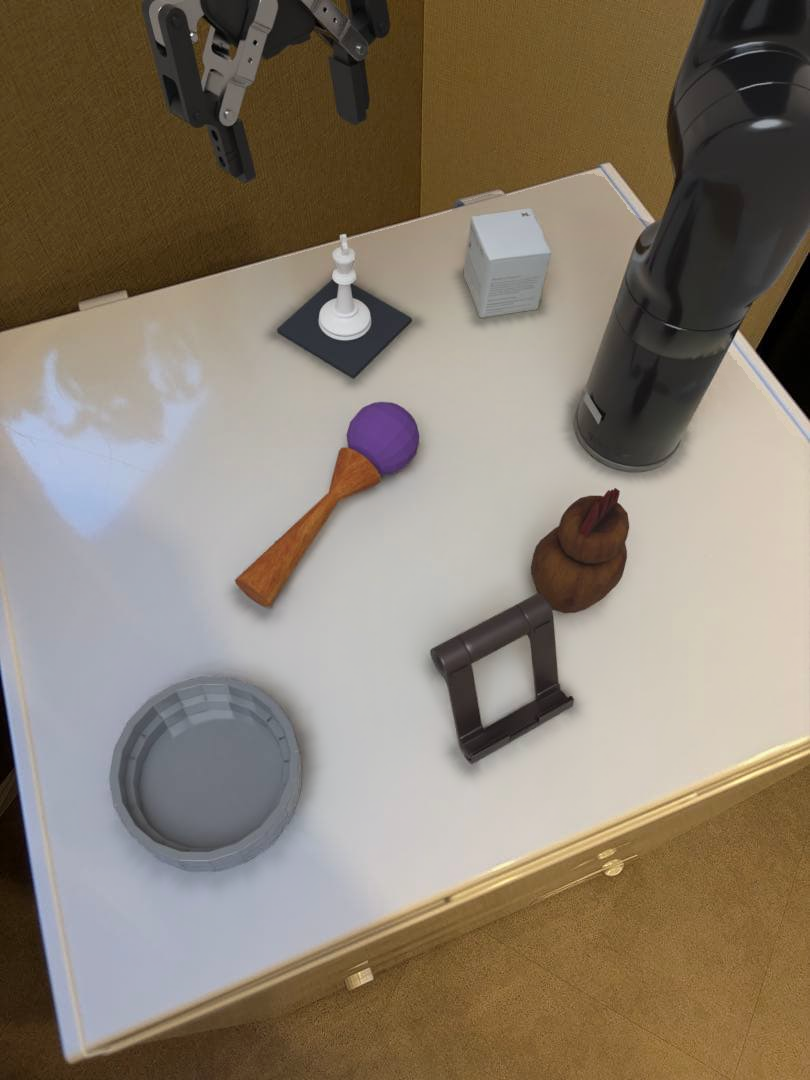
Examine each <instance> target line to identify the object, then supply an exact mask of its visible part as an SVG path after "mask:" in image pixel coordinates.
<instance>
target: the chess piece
mask: <svg viewBox="0 0 810 1080" xmlns="http://www.w3.org/2000/svg"><path fill="white" fill-rule="evenodd" d="M339 242H340V246H338V247H337V248H335V249H334V250H333V251H332V254H331V257H332V260H333V262H334V264H335V266H336V268H334V270H333V272H332V274H331V278H332V279H333V280H334V281H335V282H336V283H337V284H339V285H338V294H337V298H335V299H332V300H330V301H328V302H327V303H326V304H325V305H324V306H323V307H322V308H321V310H320V313H319V326H320V328H321V330H322V331H323V332H324V333H325V334H326V335H328V336H329V337H331V338H334V339H337V340H353V339H357V338H359V337H361V336H363V335H364V334H365V333H366V332H367V331H368V330H369V328H370V326H371V315H370V311H369V309H368V308H367V306H366V305H365V304H364V303H362V302H361V301H359V300H357V299H354V298H352V293H351V286H350V284H351V283H352V284H354V282H355V281H356V279H357V273H356V271H355V270H354V269H353V268H352V267H353V264H354V263H355V260H356V255H357V254H356V252H355V250H354V249H353V248H352V247H350V246H348V237H347V234H346V233H343V234H339Z"/></svg>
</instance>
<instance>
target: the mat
mask: <svg viewBox="0 0 810 1080" xmlns="http://www.w3.org/2000/svg"><path fill="white" fill-rule="evenodd" d="M338 285H339V284H337V283H336V282H335V281H334V280H333V278H332V279H331V280H330V281H329V282H327V284H325V285H324V286H323V287H322V288H321V289H320V290H319V291H317V292H316V293H315V294H314V295H313V296H312V297H311V298H309V299H308V300H307V302H306V303H304V304H303V305H302V306H301V307H300V308H298V310H296V311H295V312H293V314H292V315H291V316H290V317H289V318H288V319H286V320H285V321H284V322H283V323H282V324H280V325H279V326H278V327H277V328H276V332H277V334H279V335H281V336H282V337H284V338H286V339H287V340H289V341H291V342H292V343H294V344H296V345H297V346H299V347H300V348H303V349H304V350H305V351H307V352H308V353H310V354H312V355H313V356H315V357H317V358H319V360H322V361H323V362H325V363H327V364H329V366H331V367H333V368H335V369H337V370H338V371H339V372H342V373H343V374H344V375H346V376H348V377H350V378H351V379H355V378H356V377H357V376H358V375H359V374H360V373H362V371H363V370H364V369H365V368H366V367H367V366H368V365H369V364H371V362H372V361H373V360H374V359H375V358H376V357H377V356H379V355H380V353H381V352H383V350H384V349H385V348H387V346H388V345H389V344H390V343H391V342H392V341H393V340H395V338H396V337H398V336H399V335H400V333H402V332H403V331H404V330H405V329H406V327H408V326H409V325H410V324H411V323H412V320H413V319H412V317H410V316H409V315H407V314H406V313H404V312H402V311H400V310H399V309H397V308H395V307H393V306H391V304H388V303H387V302H385V301H383V300H381V299H379V298H378V297H376V296H374V295H373V294H371V293H369V292H367V291H366V290H364V289H362V288H361V287H359V286H357V285H355V284H354V283H351V284H350V286H351V293H352V298H354V299H357V300H359V301H361V302H362V303H364V304H365V305H366V306H367V308H368V309H369V311H370V315H371V326H370V328H369V330H368V331H367V332H366V333H365V334H364V335H363V336H361V337H359V338H357V339H353V340H337V339H334V338H331V337H329V336H328V335H326V334H325V333H324V332H323V331H322V330H321V328H320V326H319V313H320V310H321V308H322V307H323V306H324V305H325V304H326V303H327V302H328V301H330V300H332V299H335V298H337V294H338Z"/></svg>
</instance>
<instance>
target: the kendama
mask: <svg viewBox="0 0 810 1080" xmlns="http://www.w3.org/2000/svg"><path fill="white" fill-rule="evenodd" d="M346 443H347V446H346V447H340V449H339V450H338V453H337V456H336V461H335V465H334V469H333V473H332V475H331V479H330V484H329V488H328V492H327V493H326V494H325V495H323V497H322V498H321V499H320V500H319V501H318V502H317V503H315V504H314V506H312V507H311V508H310V509H309V510H308V511H307V512H306V513H305V514H303V516H301V518H299V519H298V520H297V521H296V522H295V523H294V524H293V525H292V526H290V528H289V529H288V530H287V531H285V533H283V534H282V535H281V536H280V537H279V538H278V539H277V540H276V541H275V542H274V543H273V544H271V546H270V547H268V548H267V549H266V550H265V551H264V552H263V553H262V554H261V555H260V556H259V557H258V558H256V559H255V560H254V561H253V562H252V563H251V564H250V565H249V566H248V567H247V568H246V569H244V571H243V572H242V573H240V575H238V576H237V577H236V578H235V579H234V582H235V584H236V585H237V587H238V588H239V589H240V590H241V591H242V592H243V594H245V595H246V596H247V597H248V598H250V599H251V600H252V601H254V602H255V603H256V604H258V605H260V606H261V607H264V608H266V609H269V608H270V607H271V605H272V604H273V602H274V601H275V600H276V598H277V596H278V594H279V593H280V592H281V590H282V588H283V587H284V585H285V584H286V582H287V581H288V580H289V578H290V576H291V575H292V573H293V572H294V570H295V569H296V567H297V566H298V564H299V562H300V561H301V560H302V559H303V557H304V556H305V554H306V552H307V550H308V549H309V547H310V546H311V544H312V543H313V542H314V540H315V539H316V537H317V535H318V534H319V532H320V531H321V529H322V528H323V526H324V525H325V523H326V522H327V520H328V519H329V517H330V516H331V514H332V512H333V511H334V510H335V508H336V507H337V505H338V504H339V502H340V501H342V500H345V499H348V498H350V497H352V496H354V495H356V494H358V493H361V492H363V491H365V490H367V489H370V488H372V487H375V486H376V485H378V484H380V482H381V475H393V474H396V473H397V472H399V471H401V470H404V469H405V468H406V467H407V466H408V465H409V464H410V462H411V461H412V460H413V459H414V458H415V457H416V455H417V453H418V448H419V446H420V445H419V444H420V432H419V429H418V424H417V422H416V419H415V418H414V417H413V415H412V414H411V413H410V412H409V411H408V410H407V409H406V408H405V407H402V406H401V405H399V404H398V403H394V402H389V401H377V402H371V403H370V404H368V405H365V406H363V407H361V408H360V410H359V411H358V412H357V413H356V414H355V415H354V417H353V418H352V419H351V421H350V422H349V425H348V428H347V430H346Z"/></svg>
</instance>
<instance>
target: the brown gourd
mask: <svg viewBox="0 0 810 1080" xmlns="http://www.w3.org/2000/svg"><path fill="white" fill-rule="evenodd" d="M620 493H621V491H620V490H619V489H618V488H616V487H614V489H611V490H610V489H607V491H606V492H605V494H604V495H587V496H583V497H582V496H581V497H580V498H578V499H577V500H576V501H574V502H573V503H571V504H570V505H569V506H568V507H567V509H565V511H564V512H563V514H562V515H561V517H560V521H559V524H558V526H557V527H554V529H552V530H551V531H550V532H548V533H547V534H546V535H544V537H543V538H541V539H540V540H539V542H538V543H537V545H536V546H535V548H534V551H533V554H532V558H531V563H530V575H531V579H532V581H533V584H534V588H535V591H536V594H541V595H542V596H543V597H544V598H545V599H546V600H547V601H548V603H549V605H550V606H551V609H552V611H556V612H560V613H563V614H573V613H578V612H581V611H585V610H587V609H589V608H590V607H592V606H593V605H596V604H597V603H599V602H601V600H603V599H604V598H605V597H606V596H608V594H609V593H610V592H611V591H612V590H613V589H614V588H615V587H617V586H618V585H619V583H620V581H621V579H622V578H623V574H624V572H625V568H626V564H627V560H628V549H627V546H626V542H627V539H628V536H629V531H630V521H629V513H628V512H627V510H625V508H624V507H623V506H622V504H621V503H619V497H620Z"/></svg>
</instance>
